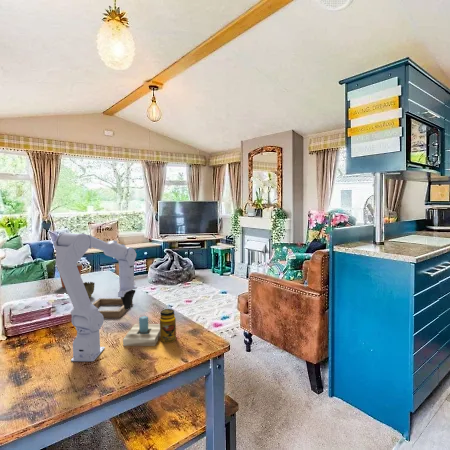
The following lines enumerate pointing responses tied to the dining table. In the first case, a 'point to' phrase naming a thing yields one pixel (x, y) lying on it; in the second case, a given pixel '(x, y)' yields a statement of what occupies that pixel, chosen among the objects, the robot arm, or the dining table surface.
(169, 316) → the condiment
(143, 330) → the peg
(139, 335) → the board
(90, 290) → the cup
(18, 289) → the dining table surface
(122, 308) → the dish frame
